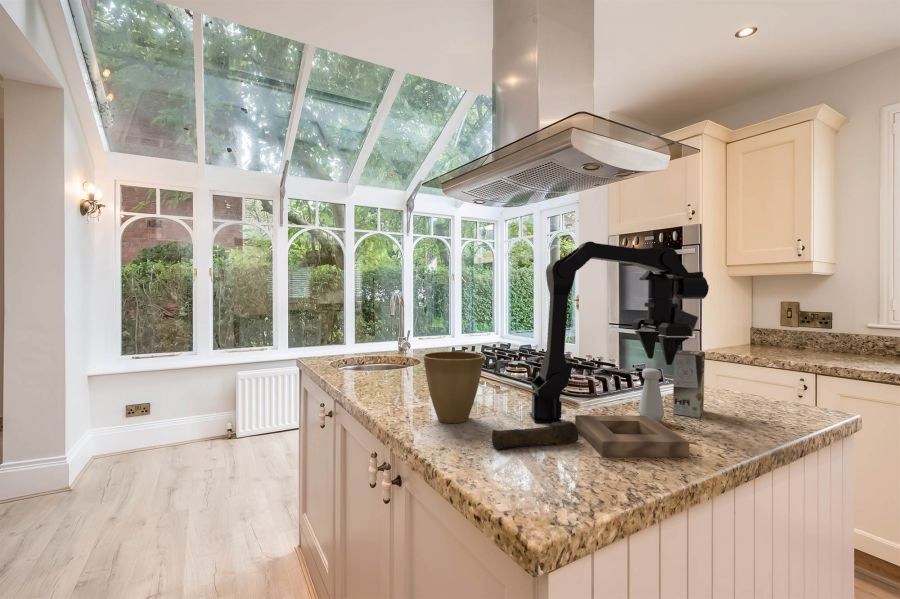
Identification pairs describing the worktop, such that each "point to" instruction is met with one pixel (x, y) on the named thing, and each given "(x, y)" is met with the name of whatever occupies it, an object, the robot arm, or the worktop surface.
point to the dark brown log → (536, 436)
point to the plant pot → (453, 383)
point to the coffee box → (688, 383)
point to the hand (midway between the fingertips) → (659, 361)
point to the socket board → (630, 436)
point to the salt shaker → (651, 395)
